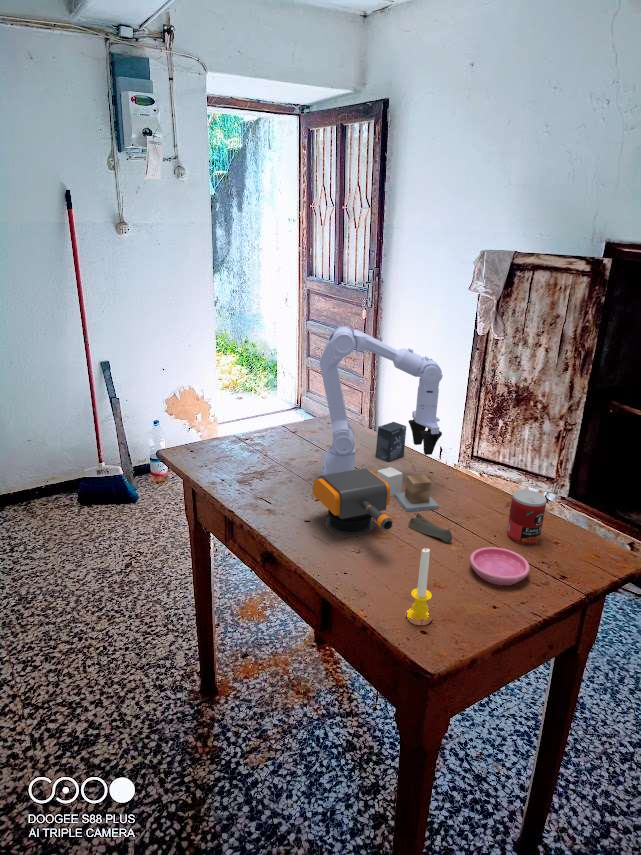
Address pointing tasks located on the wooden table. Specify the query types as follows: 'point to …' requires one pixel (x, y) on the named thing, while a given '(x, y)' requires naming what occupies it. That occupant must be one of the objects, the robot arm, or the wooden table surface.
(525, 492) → the canned food
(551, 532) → the wooden table surface
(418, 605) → the candle
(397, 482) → the grey block
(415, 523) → the bone
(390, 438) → the box
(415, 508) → the coaster
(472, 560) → the saucer
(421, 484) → the walnut block
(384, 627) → the wooden table surface
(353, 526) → the sander
